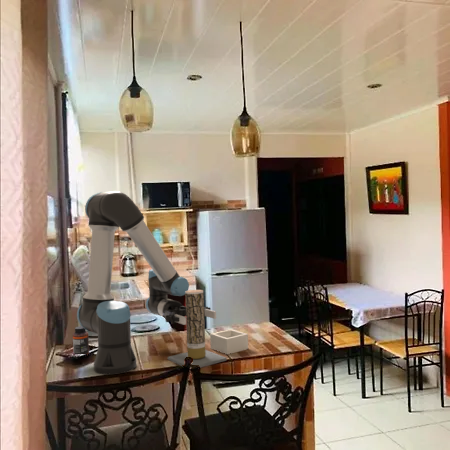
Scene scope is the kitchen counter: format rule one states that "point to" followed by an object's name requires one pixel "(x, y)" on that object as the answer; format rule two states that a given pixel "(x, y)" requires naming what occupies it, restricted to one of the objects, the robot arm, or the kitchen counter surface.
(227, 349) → the box
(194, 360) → the mat
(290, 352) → the kitchen counter surface
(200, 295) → the bark pattern cylinder
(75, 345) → the supplement bottle
